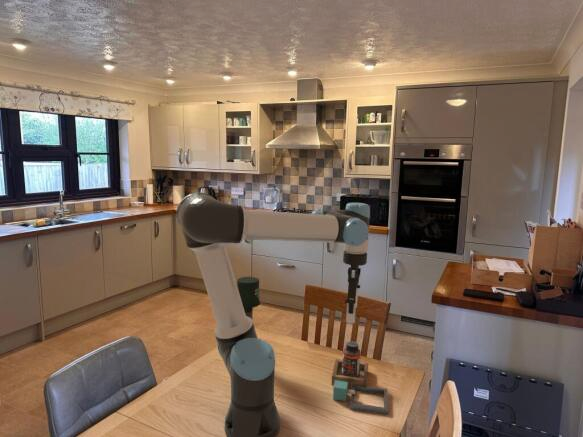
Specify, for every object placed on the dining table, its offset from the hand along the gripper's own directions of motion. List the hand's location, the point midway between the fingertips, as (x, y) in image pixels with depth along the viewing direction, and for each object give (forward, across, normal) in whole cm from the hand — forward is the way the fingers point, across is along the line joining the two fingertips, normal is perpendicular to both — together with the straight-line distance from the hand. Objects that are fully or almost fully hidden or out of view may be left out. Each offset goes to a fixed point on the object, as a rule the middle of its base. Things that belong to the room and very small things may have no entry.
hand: (351, 314), depth 135 cm
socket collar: (+23, +11, +7) cm, 26 cm away
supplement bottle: (+22, -1, +1) cm, 22 cm away
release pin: (+23, +11, 0) cm, 25 cm away
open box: (+23, -1, +1) cm, 23 cm away
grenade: (+23, -5, -37) cm, 44 cm away
